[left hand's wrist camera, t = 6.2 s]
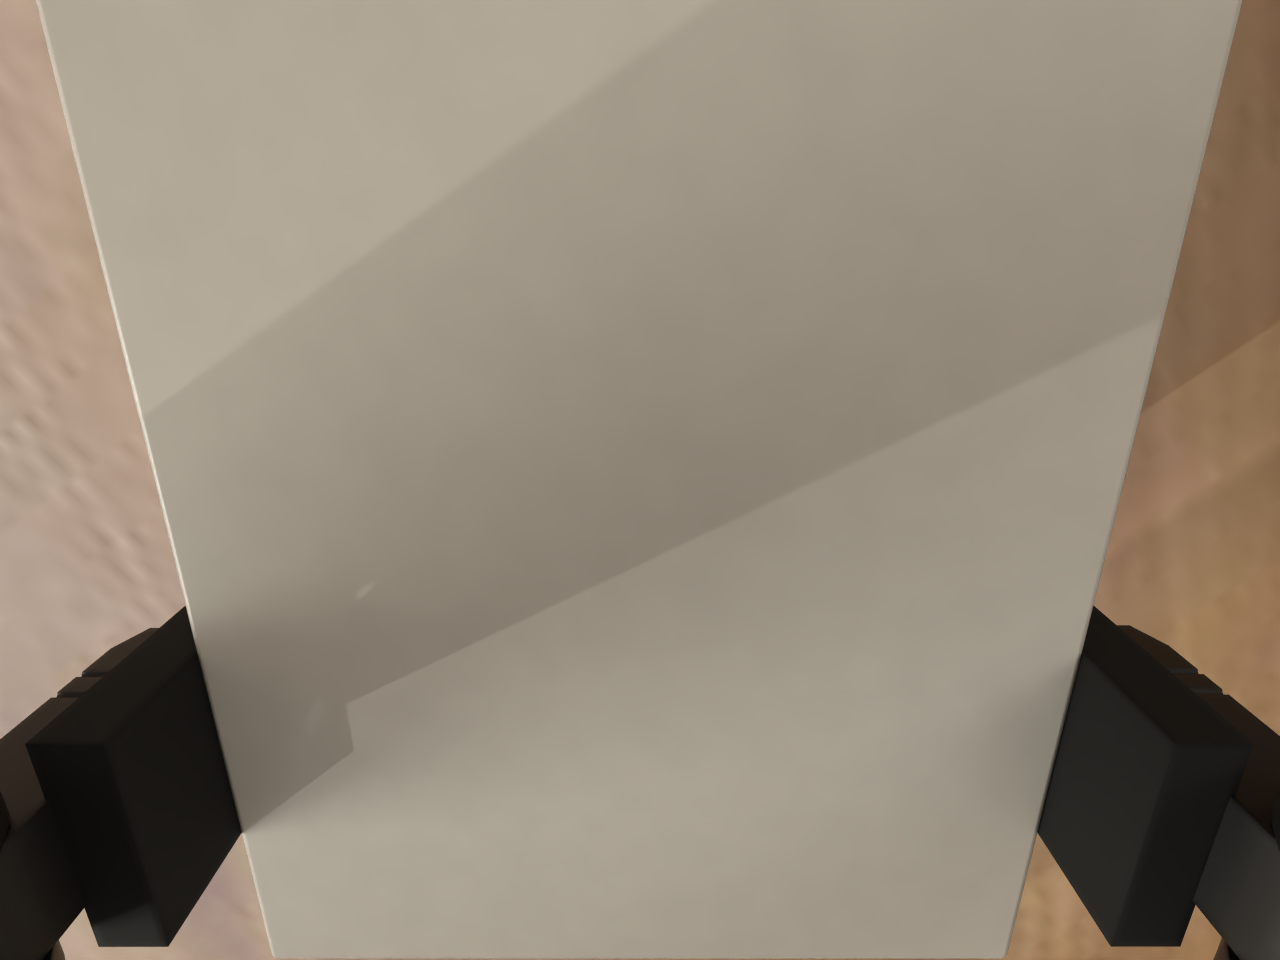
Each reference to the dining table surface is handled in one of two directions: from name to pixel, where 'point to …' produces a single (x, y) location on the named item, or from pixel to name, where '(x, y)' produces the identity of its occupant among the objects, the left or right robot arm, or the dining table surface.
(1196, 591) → the dining table surface
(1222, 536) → the dining table surface
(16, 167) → the dining table surface
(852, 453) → the cabinet
